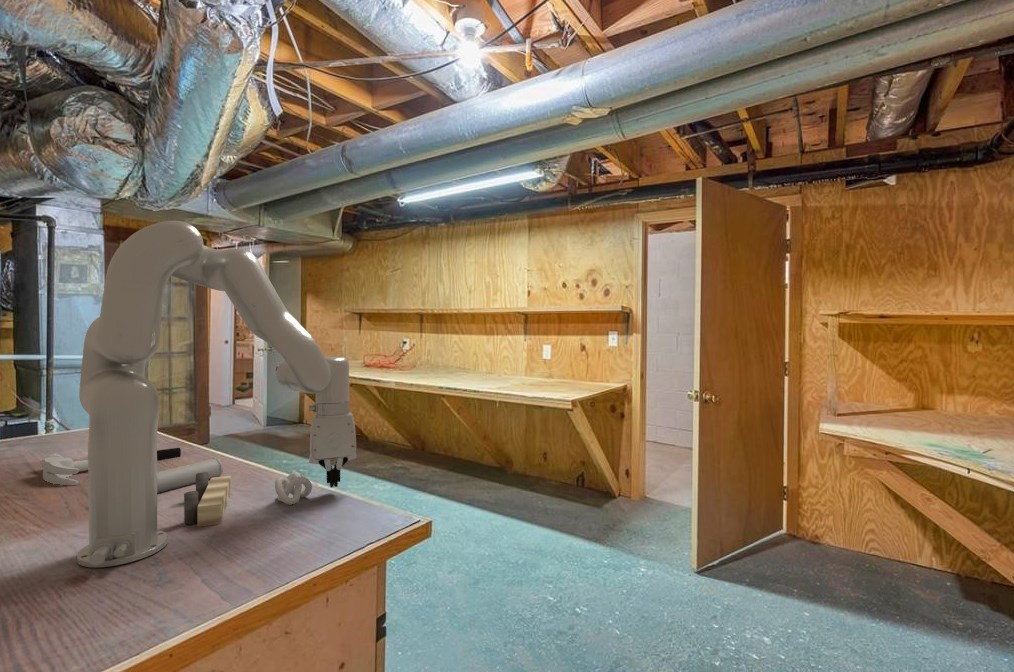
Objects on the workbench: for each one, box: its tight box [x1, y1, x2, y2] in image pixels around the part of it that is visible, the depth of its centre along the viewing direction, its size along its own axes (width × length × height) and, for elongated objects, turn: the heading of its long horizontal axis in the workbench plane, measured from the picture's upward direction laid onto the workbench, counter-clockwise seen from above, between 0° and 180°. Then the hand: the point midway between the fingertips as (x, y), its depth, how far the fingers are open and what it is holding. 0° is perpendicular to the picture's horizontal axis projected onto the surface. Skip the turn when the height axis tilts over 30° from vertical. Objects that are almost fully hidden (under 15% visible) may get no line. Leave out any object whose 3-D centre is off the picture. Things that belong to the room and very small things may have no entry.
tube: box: [157, 456, 224, 494], centre depth 118 cm, size 5×5×25 cm
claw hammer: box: [40, 447, 182, 486], centre depth 135 cm, size 5×22×30 cm
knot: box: [274, 471, 313, 506], centre depth 111 cm, size 8×8×6 cm
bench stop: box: [183, 472, 232, 528], centre depth 106 cm, size 20×7×6 cm, turn 25°
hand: (333, 485), depth 115 cm, fingers closed
